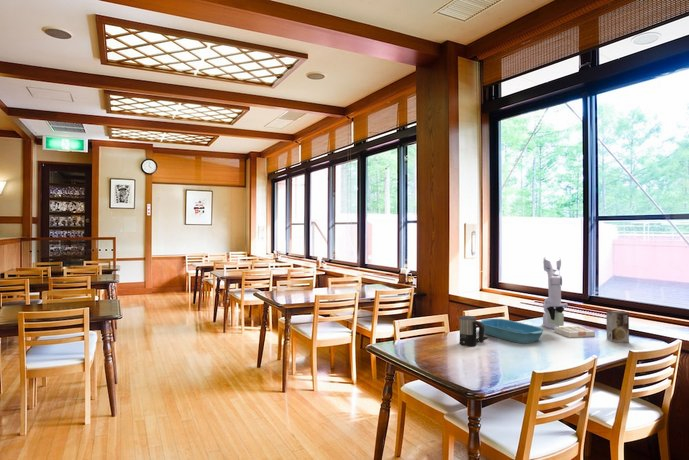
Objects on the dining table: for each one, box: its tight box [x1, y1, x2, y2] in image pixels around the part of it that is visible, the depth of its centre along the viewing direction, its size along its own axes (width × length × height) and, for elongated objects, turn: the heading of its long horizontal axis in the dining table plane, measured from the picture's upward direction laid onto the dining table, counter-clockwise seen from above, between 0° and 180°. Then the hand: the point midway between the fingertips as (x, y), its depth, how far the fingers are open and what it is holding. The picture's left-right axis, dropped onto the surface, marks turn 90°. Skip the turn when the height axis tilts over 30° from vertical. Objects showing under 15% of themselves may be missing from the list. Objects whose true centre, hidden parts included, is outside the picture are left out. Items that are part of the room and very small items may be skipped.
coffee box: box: [606, 310, 630, 343], centre depth 240 cm, size 9×6×16 cm
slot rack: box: [553, 325, 596, 339], centre depth 255 cm, size 14×16×3 cm
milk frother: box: [458, 315, 489, 347], centre depth 235 cm, size 14×16×15 cm
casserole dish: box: [480, 318, 544, 344], centre depth 249 cm, size 37×22×7 cm, turn 33°
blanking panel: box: [548, 311, 565, 327], centre depth 253 cm, size 10×3×7 cm, turn 9°
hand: (555, 319), depth 254 cm, fingers closed on blanking panel, 3 cm apart
